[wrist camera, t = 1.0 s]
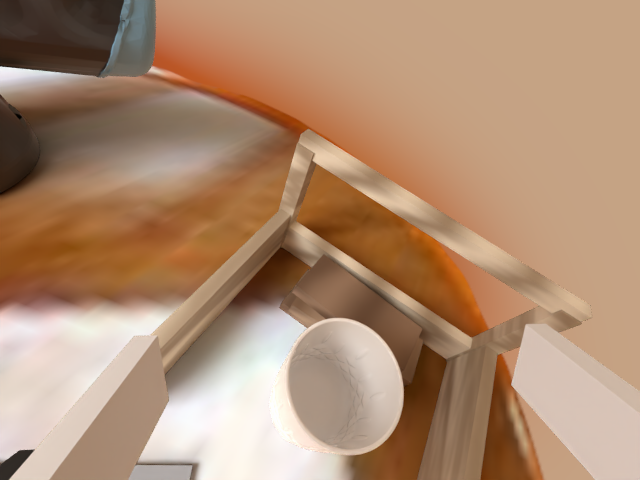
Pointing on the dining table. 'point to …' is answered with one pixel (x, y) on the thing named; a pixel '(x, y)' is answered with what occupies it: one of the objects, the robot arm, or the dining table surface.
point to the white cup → (338, 389)
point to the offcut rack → (392, 301)
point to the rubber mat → (161, 472)
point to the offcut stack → (354, 310)
